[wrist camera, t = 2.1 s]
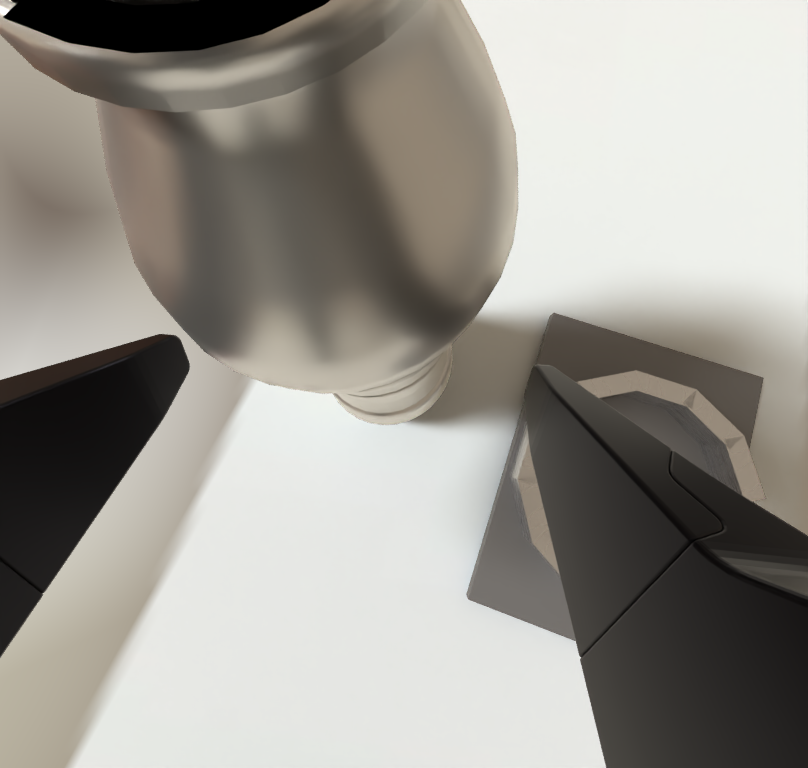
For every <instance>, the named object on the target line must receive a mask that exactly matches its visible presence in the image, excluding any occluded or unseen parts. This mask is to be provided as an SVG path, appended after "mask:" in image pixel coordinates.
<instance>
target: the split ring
mask: <svg viewBox="0 0 808 768" xmlns="http://www.w3.org/2000/svg"><path fill="white" fill-rule="evenodd" d="M576 383H578V384H579V385H581V386H582V387H583V388H585V389H586V390H588V391H589V392H591V393H592V394H594V395H595V396H596V397H598V398H599V399H600V398H605V397H610V396H615V395H621V396H624V397H627V398H630V399H633V400H637V401H640V402H643V403H646V404H649V405H652V406H655V407H658V408H661V409H664V410H665V411H666V412H667V413H668V414H669V415H670V416H671V417H672V418H673V419H674V420H675V421H676V422H677V423H678V424H679V425H680V426H681V427H682V428H683V429H684V430H685V431H686V432H687V433H688V434H690V435H691V436H692V437H693V438H694V439H695V440H696V441H697V442H698V443H699V444H700V447H701V450H702V453H703V456H704V459H705V462H706V465H707V469H708V472H709V474H710V475H711V476H713V477H714V478H716V479H717V480H719V481H720V482H722V483H723V484H725V485H727V486H728V487H730V488H731V489H733V490H734V491H736V492H738V493H739V494H741V495H742V496H744V497H746V498H747V499H749V500H750V501H757V500H762V499H766V497H765V494H764V491H763V488H762V485H761V483H760V480H759V477H758V474H757V471H756V468H755V465H754V462H753V460H752V457H751V454H750V451H749V448H748V445H747V442H746V439H745V436H744V435H743V434H742V433H741V432H740V431H739V430H738V429H737V428H736V427H735V426H734V425H733V424H732V423H731V422H730V421H729V420H728V419H727V418H726V417H724V416H723V415H722V414H721V413H720V412H719V411H718V410H717V409H716V408H715V407H714V406H713V405H712V404H711V403H710V402H709V401H708V400H707V399H706V398H705V397H704V396H703V395H702V394H701V393H700V392H699V391H698V390H697V389H694V388H690V387H687V386H684V385H681V384H678V383H675V382H672V381H668V380H665V379H662V378H659V377H656V376H653V375H649V374H646V373H643V372H640V371H637V370H635V371H630V372H625V373H620V374H615V375H609V376H604V377H599V378H594V379H589V380H583V381H578V382H576ZM509 478H510V482H511V487H512V491H513V495H514V500H515V504H516V508H517V512H518V517H519V521H520V525H521V530H522V534H523V536H524V537H525V538H526V539H527V540H528V541H529V543H530V544H531V545H532V546H533V547H534V548H535V549H536V551H537V552H538V553H539V554H540V555H541V556H542V557H543V559H544V560H545V561H546V562H547V563H548V564H549V566H550V567H551V568H552V569H553V570H554V571H555V572H556V574H557V575H558V576H559V577H560V574H559V570H558V565H557V561H556V557H555V553H554V549H553V545H552V541H551V537H550V532H549V528H548V524H547V520H546V516H545V512H544V508H543V504H542V500H541V495H540V491H539V487H538V483H537V479H536V475H535V471H534V467H533V462H532V458H531V453H530V447H529V439H528V429H527V421H526V422H525V424H524V427H523V431H522V434H521V437H520V441H519V444H518V447H517V451H516V454H515V457H514V461H513V464H512V468H511V471H510V474H509Z"/></svg>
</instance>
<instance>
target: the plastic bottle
mask: <svg viewBox="0 0 808 768" xmlns="http://www.w3.org/2000/svg"><path fill="white" fill-rule="evenodd" d="M0 34H1V36H2V37H3V38H4V39H5V40H6V41H7V42H8V43H10V45H11V46H13V47H14V48H15V49H16V50H17V51H18V52H19V53H20V54H21V55H22V56H23V57H24V58H25V59H26V60H27V61H28V62H29V63H30V64H31V65H32V66H33V67H34V68H35V69H37V70H39V71H40V72H42V73H44V74H46V75H47V76H49V77H51V78H52V79H54V80H56V81H57V82H59V83H61V84H63V85H64V86H66V87H68V88H70V89H71V90H73V91H75V92H78V93H81V94H84V95H87V96H90V97H94V98H95V100H96V106H97V113H98V119H99V126H100V132H101V139H102V146H103V152H104V159H105V165H106V171H107V174H108V178H109V181H110V184H111V188H112V191H113V194H114V198H115V201H116V204H117V208H118V211H119V214H120V218H121V221H122V224H123V228H124V231H125V234H126V237H127V240H128V244H129V247H130V250H131V253H132V256H133V259H134V263H135V265H136V267H137V268H138V270H139V272H140V273H141V275H142V277H143V279H144V280H145V282H146V284H147V285H148V287H149V289H150V290H151V292H152V294H153V295H154V296H155V297H156V299H157V300H158V301H159V302H160V303H161V305H162V306H163V307H164V308H165V309H166V310H167V311H168V313H169V314H170V315H171V316H172V317H173V318H174V319H175V321H176V322H177V323H178V324H179V325H180V326H181V327H182V328H183V330H184V331H185V332H186V333H187V334H188V335H189V336H190V337H191V338H192V339H193V340H194V341H195V342H196V343H197V344H198V345H199V346H200V347H201V348H202V349H203V350H204V352H206V353H207V354H209V355H210V356H212V357H213V358H215V359H216V360H218V361H219V362H221V363H223V364H224V365H226V366H227V367H229V368H230V369H232V370H233V371H235V372H238V373H240V374H243V375H245V376H248V377H251V378H253V379H256V380H259V381H261V382H264V383H266V384H269V385H274V386H280V387H284V388H288V389H294V390H301V391H307V392H314V393H320V394H329V393H332V394H333V395H334V397H335V398H336V400H337V401H338V403H339V404H340V405H341V406H342V407H343V408H344V409H345V410H346V411H347V412H349V413H350V414H352V415H353V416H355V417H356V418H358V419H361V420H363V421H366V422H369V423H373V424H379V425H393V424H399V423H403V422H407V421H410V420H412V419H414V418H416V417H418V416H420V415H421V414H423V413H424V412H425V411H427V410H428V409H429V408H431V407H432V405H433V404H434V403H435V402H436V401H437V400H438V399H439V398H440V396H441V394H442V393H443V391H444V390H445V388H446V386H447V383H448V381H449V378H450V375H451V370H452V364H453V355H452V344H453V343H454V342H455V341H456V339H457V338H458V337H459V336H460V335H461V334H462V333H463V332H464V331H465V330H466V329H467V328H468V327H469V325H470V324H471V323H472V321H473V320H474V318H475V317H476V315H477V314H478V313H479V311H480V310H481V308H482V307H483V305H484V303H485V302H486V300H487V299H488V297H489V295H490V294H491V292H492V291H493V289H494V287H495V286H496V284H497V282H498V281H499V279H500V278H501V275H502V272H503V269H504V267H505V264H506V261H507V259H508V256H509V253H510V250H511V248H512V245H513V241H514V234H515V227H516V220H517V213H518V161H517V147H516V133H515V130H514V126H513V123H512V120H511V116H510V113H509V110H508V106H507V103H506V100H505V97H504V94H503V92H502V89H501V86H500V84H499V81H498V78H497V76H496V73H495V71H494V68H493V65H492V63H491V60H490V57H489V55H488V52H487V49H486V47H485V44H484V42H483V40H482V38H481V36H480V35H479V33H478V31H477V29H476V27H475V25H474V24H473V22H472V20H471V18H470V16H469V14H468V13H467V11H466V9H465V7H464V5H463V3H462V2H461V0H0Z"/></svg>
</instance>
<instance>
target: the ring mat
mask: <svg viewBox="0 0 808 768" xmlns="http://www.w3.org/2000/svg"><path fill="white" fill-rule="evenodd" d="M538 364H539V365H550V366H553V367H555V368H556V369H557V370H559V371H560V372H562V373H563V374H565V375H566V376H568V377H569V378H570V379H572V380H573V381H575V382H578V381H583V380H589V379H594V378H599V377H604V376H609V375H615V374H620V373H625V372H630V371H635V370H637V371H640V372H643V373H646V374H649V375H653V376H656V377H659V378H662V379H665V380H668V381H672V382H675V383H678V384H681V385H684V386H687V387H690V388H694V389H697V390H698V391H699V392H700V393H701V394H702V395H703V396H704V397H705V398H706V399H707V400H708V401H709V402H710V403H711V404H712V405H713V406H714V407H715V408H716V409H717V410H718V411H719V412H720V413H721V414H722V415H723V416H724V417H726V418H727V419H728V420H729V421H730V422H731V423H732V424H733V425H734V426H735V427H736V428H737V429H738V430H739V431H740V432H741V433H742V434H743V435H744V436H745V439H746V442H747V445H748V448H750V443H751V438H752V433H753V428H754V423H755V418H756V413H757V408H758V403H759V398H760V393H761V388H762V383H763V378H762V377H759V376H756V375H753V374H749V373H746V372H743V371H740V370H736V369H733V368H730V367H727V366H724V365H720V364H717V363H714V362H711V361H707V360H704V359H701V358H698V357H695V356H691V355H688V354H685V353H682V352H678V351H675V350H672V349H669V348H665V347H662V346H659V345H656V344H653V343H649V342H646V341H643V340H640V339H636V338H633V337H630V336H627V335H624V334H620V333H617V332H614V331H611V330H607V329H604V328H601V327H598V326H595V325H591V324H588V323H585V322H582V321H578V320H575V319H572V318H569V317H565V316H562V315H559V314H556V313H553V314H552V315H551V316H550V318H549V321H548V324H547V328H546V331H545V334H544V338H543V341H542V344H541V348H540V351H539V354H538V358H537V361H536V364H535V365H538ZM600 399H601V400H602V401H604V402H605V403H606V404H608V405H609V406H611V407H612V408H614V409H615V410H617V411H618V412H619V413H621V414H622V415H624V416H625V417H627V418H628V419H630V420H631V421H632V422H634V423H635V424H637V425H638V426H640V427H641V428H643V429H644V430H645V431H647V432H648V433H650V434H651V435H653V436H654V437H656V438H657V439H658V440H660V441H661V442H663V443H664V444H666V445H667V446H669V447H670V448H671V451H676V452H677V453H679V454H680V455H682V456H683V457H685V458H686V459H687V460H689V461H690V462H692V463H693V464H695V465H696V466H698V467H699V468H701V469H702V470H704V471H705V472H707V473H708V474H709V472H708V469H707V465H706V462H705V459H704V456H703V453H702V450H701V447H700V444H699V443H698V442H697V441H696V440H695V439H694V438H693V437H692V436H691V435H690V434H688V433H687V432H686V431H685V430H684V429H683V428H682V427H681V426H680V425H679V424H678V423H677V422H676V421H675V420H674V419H673V418H672V417H671V416H670V415H669V414H668V413H667V412H666V411H665V410H664V409H661V408H658V407H655V406H652V405H649V404H646V403H643V402H640V401H637V400H633V399H630V398H627V397H624V396H621V395H615V396H610V397H605V398H600ZM526 421H527V420H526V411H525V401H524V404H523V408H522V411H521V414H520V418H519V421H518V424H517V428H516V431H515V434H514V438H513V441H512V444H511V448H510V451H509V454H508V458H507V461H506V464H505V468H504V471H503V474H502V478H501V481H500V484H499V488H498V491H497V494H496V498H495V501H494V504H493V508H492V511H491V514H490V518H489V521H488V524H487V528H486V531H485V534H484V538H483V541H482V544H481V548H480V551H479V554H478V558H477V561H476V564H475V568H474V571H473V574H472V578H471V581H470V584H469V588H468V591H467V597H468V599H469V600H471V601H474V602H476V603H479V604H482V605H484V606H487V607H489V608H492V609H494V610H497V611H500V612H502V613H505V614H507V615H510V616H513V617H515V618H518V619H520V620H523V621H525V622H528V623H531V624H533V625H536V626H538V627H541V628H543V629H546V630H549V631H551V632H554V633H556V634H559V635H561V636H564V637H567V638H569V639H572V640H574V641H576V639H575V635H574V631H573V627H572V623H571V619H570V615H569V611H568V607H567V602H566V598H565V594H564V590H563V586H562V582H561V578H560V577H559V576H558V575H557V574H556V572H555V571H554V570H553V569H552V568H551V567H550V566H549V564H548V563H547V562H546V561H545V560H544V559H543V557H542V556H541V555H540V554H539V553H538V552H537V551H536V549H535V548H534V547H533V546H532V545H531V544H530V543H529V541H528V540H527V539H526V538H525V537H524V536H523V534H522V530H521V525H520V521H519V517H518V512H517V508H516V504H515V500H514V495H513V491H512V487H511V482H510V478H509V474H510V471H511V468H512V464H513V461H514V457H515V454H516V451H517V447H518V444H519V441H520V437H521V434H522V431H523V427H524V424H525V422H526Z"/></svg>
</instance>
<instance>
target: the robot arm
mask: <svg viewBox="0 0 808 768" xmlns="http://www.w3.org/2000/svg"><path fill="white" fill-rule="evenodd" d="M189 367H190V366H189V361H188V358H187V355H186V353H185V350H184V347H183V345H182V342H181V340H180V339H179V338H178V337H177V336H175V335H165V334H158V335H155V336H151V337H148V338H144V339H141V340H137V341H134V342H130V343H127V344H124V345H121V346H117V347H113V348H110V349H106V350H103V351H99V352H96V353H92V354H89V355H85V356H82V357H79V358H75V359H72V360H68V361H65V362H61V363H58V364H54V365H51V366H47V367H44V368H41V369H37V370H34V371H30V372H27V373H23V374H20V375H17V376H13V377H10V378H6V379H2V380H0V657H1V656H2V654H3V653H4V652H5V650H6V649H7V647H8V646H9V644H10V642H11V641H12V640H13V638H14V637H15V636H16V634H17V632H18V631H19V630H20V628H21V627H22V625H23V624H24V622H25V621H26V619H27V618H28V617H29V615H30V614H31V612H32V611H33V609H34V608H35V606H36V605H37V603H38V602H39V600H40V599H41V597H42V596H43V594H42V593H44V592H45V591H46V590H47V588H48V587H49V585H50V584H51V582H52V581H53V579H54V578H55V576H56V575H57V573H58V572H59V571H60V569H61V568H62V566H63V565H64V563H65V561H66V560H67V559H68V557H69V556H70V555H71V553H72V552H73V550H74V548H75V547H76V546H77V544H78V543H79V541H80V540H81V538H82V537H83V536H84V534H85V533H86V531H87V529H88V528H89V527H90V525H91V524H92V522H93V521H94V519H95V518H96V517H97V515H98V514H99V512H100V511H101V509H102V508H103V506H104V505H105V503H106V502H107V500H108V499H109V498H110V496H111V494H112V493H113V492H114V490H115V489H116V487H117V486H118V484H119V483H120V482H121V480H122V478H123V477H124V476H125V474H126V473H127V471H128V470H129V468H130V467H131V465H132V464H133V462H134V461H135V460H136V458H137V457H138V455H139V454H140V452H141V451H142V449H143V448H144V446H145V445H146V443H147V442H148V441H149V439H150V438H151V436H152V435H153V433H154V432H155V430H156V429H157V428H158V426H159V425H160V423H161V421H162V420H163V418H164V417H165V415H166V413H167V411H168V410H169V407H170V406H171V404H172V402H173V400H174V398H175V397H176V395H177V393H178V391H179V389H180V387H181V385H182V383H183V382H184V380H185V378H186V376H187V374H188V372H189ZM524 401H525V411H526V420H527V429H528V439H529V447H530V453H531V458H532V462H533V467H534V471H535V475H536V479H537V483H538V487H539V491H540V495H541V500H542V504H543V508H544V512H545V516H546V520H547V524H548V528H549V532H550V537H551V541H552V545H553V549H554V553H555V557H556V561H557V565H558V570H559V574H560V578H561V582H562V586H563V590H564V594H565V598H566V602H567V607H568V611H569V615H570V619H571V623H572V627H573V631H574V635H575V639H576V644H577V648H578V652H579V656H580V657H581V659H580V661H581V665H582V669H583V673H584V678H585V682H586V686H587V690H588V694H589V698H590V702H591V706H592V711H593V715H594V719H595V723H596V727H597V731H598V735H599V739H600V744H601V748H602V752H603V756H604V760H605V764H606V768H808V536H807V535H806V534H804V533H802V532H801V531H799V530H797V529H796V528H794V527H793V526H791V525H789V524H788V523H786V522H784V521H783V520H781V519H780V518H778V517H776V516H775V515H773V514H771V513H770V512H768V511H767V510H765V509H763V508H762V507H760V506H758V505H757V504H755V503H754V502H752V501H750V500H749V499H747V498H746V497H744V496H742V495H741V494H739V493H738V492H736V491H734V490H733V489H731V488H730V487H728V486H727V485H725V484H723V483H722V482H720V481H719V480H717V479H716V478H714V477H713V476H711V475H710V474H708V473H707V472H705V471H704V470H702V469H701V468H699V467H698V466H696V465H695V464H693V463H692V462H690V461H689V460H687V459H686V458H685V457H683V456H682V455H680V454H679V453H677V452H676V451H671V448H670V447H669V446H667V445H666V444H664V443H663V442H661V441H660V440H658V439H657V438H656V437H654V436H653V435H651V434H650V433H648V432H647V431H645V430H644V429H643V428H641V427H640V426H638V425H637V424H635V423H634V422H632V421H631V420H630V419H628V418H627V417H625V416H624V415H622V414H621V413H619V412H618V411H617V410H615V409H614V408H612V407H611V406H609V405H608V404H606V403H605V402H604V401H602V400H601V399H599V398H598V397H596V396H595V395H594V394H592V393H591V392H589V391H588V390H586V389H585V388H583V387H582V386H581V385H579V384H578V383H576V382H575V381H573V380H572V379H570V378H569V377H568V376H566V375H565V374H563V373H562V372H560V371H559V370H557V369H556V368H555V367H553V366H550V365H539V364H538V365H535V366H534V367H533V368H532V371H531V374H530V377H529V381H528V384H527V387H526V390H525V396H524Z"/></svg>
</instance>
